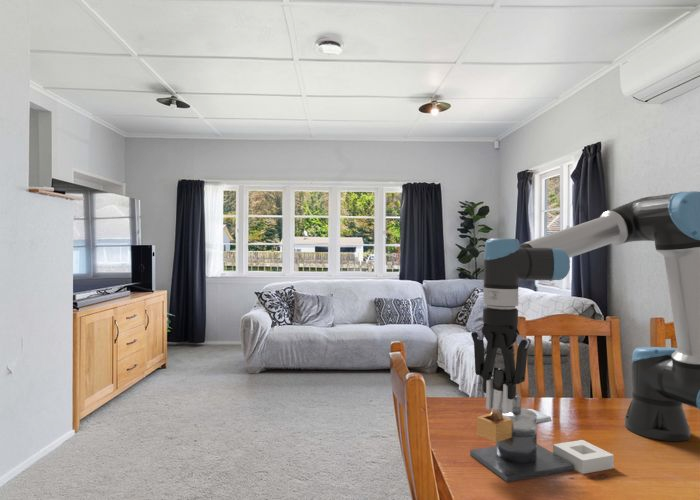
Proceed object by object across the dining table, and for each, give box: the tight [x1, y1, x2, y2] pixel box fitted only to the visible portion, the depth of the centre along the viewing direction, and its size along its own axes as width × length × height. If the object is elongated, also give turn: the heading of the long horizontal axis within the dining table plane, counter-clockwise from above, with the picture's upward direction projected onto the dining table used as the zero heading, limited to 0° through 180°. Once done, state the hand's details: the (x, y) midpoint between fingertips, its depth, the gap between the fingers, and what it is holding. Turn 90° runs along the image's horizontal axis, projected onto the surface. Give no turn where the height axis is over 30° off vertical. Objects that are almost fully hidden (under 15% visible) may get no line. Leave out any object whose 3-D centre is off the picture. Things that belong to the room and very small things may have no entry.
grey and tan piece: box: [476, 394, 538, 443], centre depth 108 cm, size 15×9×8 cm, turn 123°
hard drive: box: [527, 408, 552, 424], centre depth 138 cm, size 2×8×12 cm
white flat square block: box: [552, 439, 615, 475], centre depth 109 cm, size 9×9×3 cm
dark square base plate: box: [469, 432, 575, 483], centre depth 109 cm, size 18×14×7 cm
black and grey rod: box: [490, 366, 507, 422], centre depth 105 cm, size 3×3×14 cm
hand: (498, 409), depth 105 cm, fingers closed on black and grey rod, 3 cm apart
